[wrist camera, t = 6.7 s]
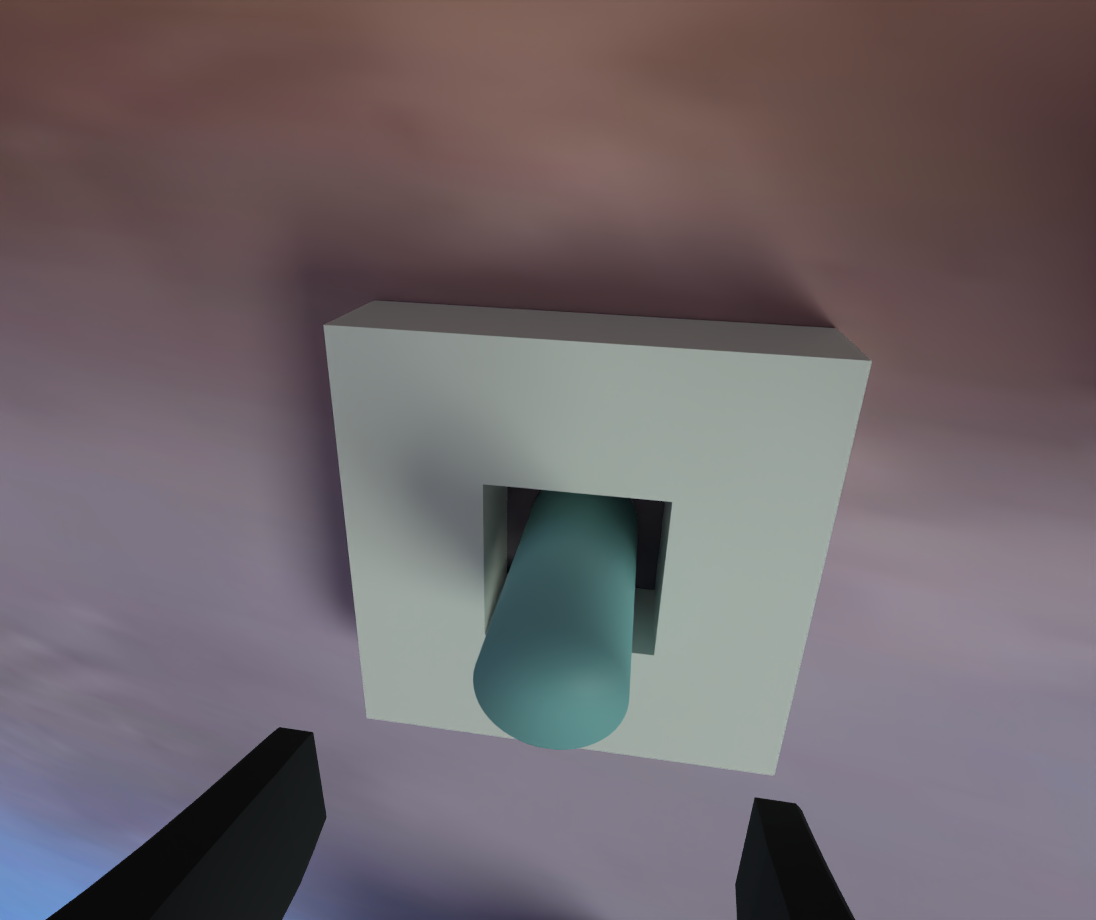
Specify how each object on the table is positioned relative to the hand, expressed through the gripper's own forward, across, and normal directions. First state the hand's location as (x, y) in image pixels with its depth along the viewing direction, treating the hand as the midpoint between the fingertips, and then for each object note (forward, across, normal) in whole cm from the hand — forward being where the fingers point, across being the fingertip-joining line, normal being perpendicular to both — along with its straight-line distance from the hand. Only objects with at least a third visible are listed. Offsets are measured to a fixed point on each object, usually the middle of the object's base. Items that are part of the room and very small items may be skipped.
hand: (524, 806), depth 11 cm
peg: (+10, 0, 0) cm, 10 cm away
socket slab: (+10, 0, 0) cm, 10 cm away
